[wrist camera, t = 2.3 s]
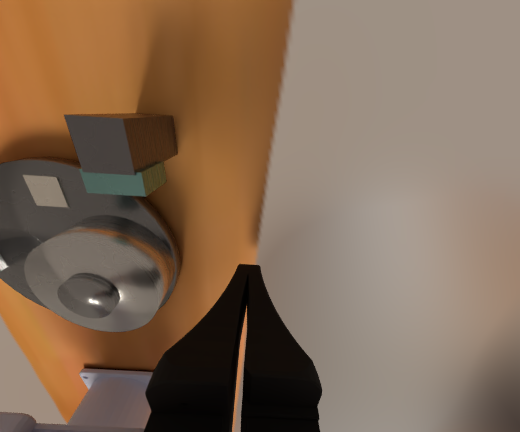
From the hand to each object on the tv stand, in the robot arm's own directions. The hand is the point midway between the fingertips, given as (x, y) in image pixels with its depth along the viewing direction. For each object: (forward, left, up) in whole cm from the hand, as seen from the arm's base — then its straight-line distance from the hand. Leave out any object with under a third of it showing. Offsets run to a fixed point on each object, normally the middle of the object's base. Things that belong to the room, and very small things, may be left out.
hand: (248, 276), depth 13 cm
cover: (0, +9, -1) cm, 9 cm away
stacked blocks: (+8, +6, -2) cm, 10 cm away
